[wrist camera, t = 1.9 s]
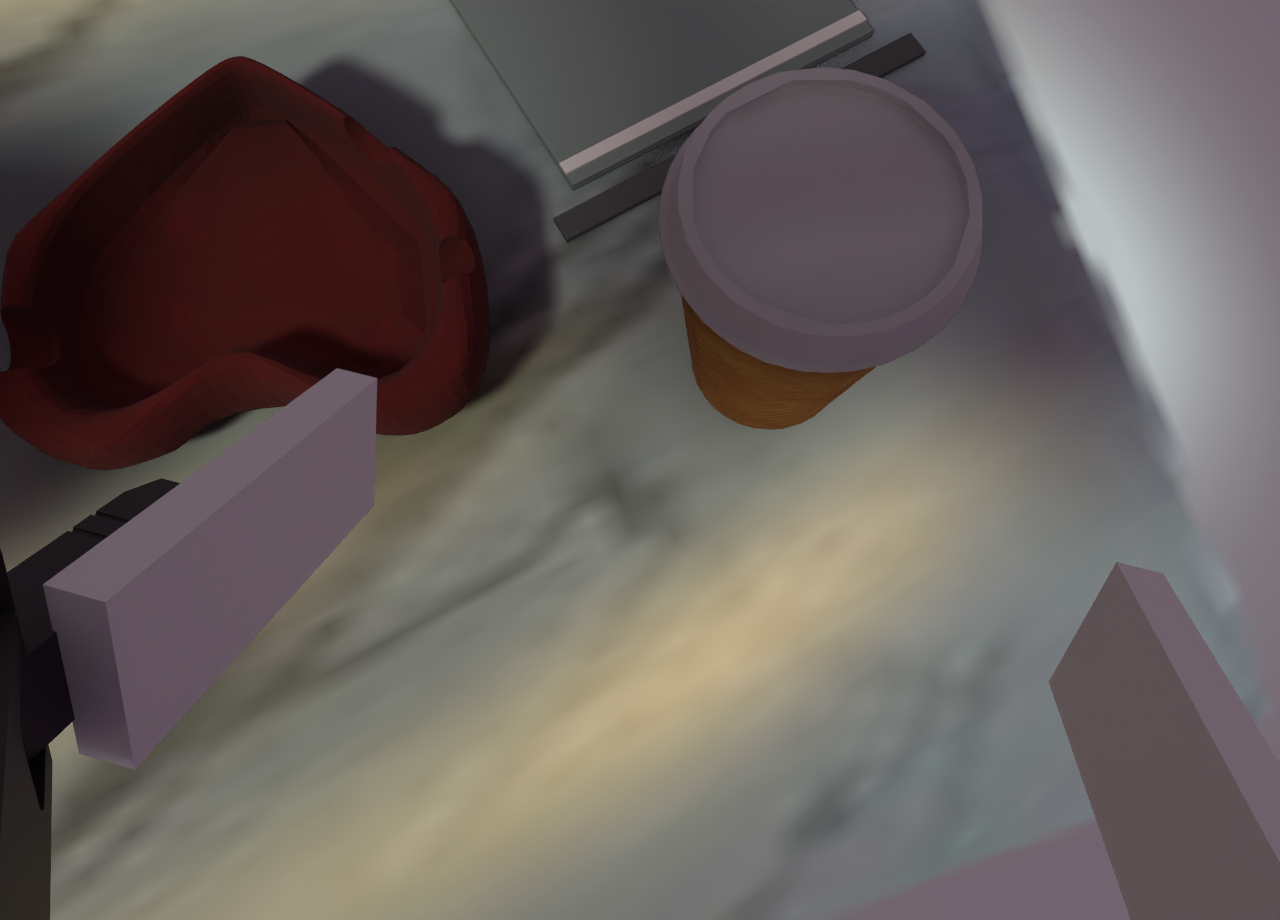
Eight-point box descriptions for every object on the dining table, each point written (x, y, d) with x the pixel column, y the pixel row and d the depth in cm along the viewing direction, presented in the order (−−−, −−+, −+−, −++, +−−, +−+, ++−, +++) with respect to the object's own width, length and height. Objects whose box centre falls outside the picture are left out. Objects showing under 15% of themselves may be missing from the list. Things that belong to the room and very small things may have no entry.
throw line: (553, 221, 37) (553, 218, 37) (908, 36, 39) (910, 32, 39) (567, 242, 37) (566, 239, 36) (924, 55, 39) (925, 51, 39)
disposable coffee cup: (872, 255, 36) (981, 53, 25) (889, 468, 34) (1019, 354, 22) (651, 254, 36) (658, 52, 25) (652, 468, 34) (660, 353, 22)
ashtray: (480, 106, 39) (457, 23, 34) (509, 445, 34) (489, 406, 30) (84, 147, 38) (4, 68, 33) (65, 498, 34) (-30, 466, 29)
